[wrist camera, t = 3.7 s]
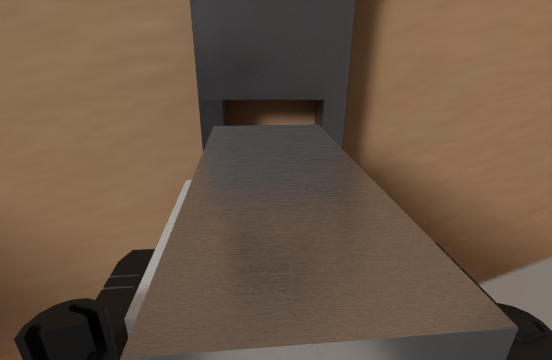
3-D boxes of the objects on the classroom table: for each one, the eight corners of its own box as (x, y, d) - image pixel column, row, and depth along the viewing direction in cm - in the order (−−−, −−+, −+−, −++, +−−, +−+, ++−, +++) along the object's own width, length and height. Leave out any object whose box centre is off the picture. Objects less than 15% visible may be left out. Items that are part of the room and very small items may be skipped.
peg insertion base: (214, 225, 25) (210, 244, 22) (172, -313, 14) (155, -391, 12) (326, 221, 25) (334, 240, 23) (367, -297, 15) (390, -368, 12)
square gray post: (220, 219, 17) (172, 555, 6) (213, 126, 15) (120, 358, 4) (312, 215, 17) (438, 520, 6) (318, 124, 15) (518, 328, 4)
